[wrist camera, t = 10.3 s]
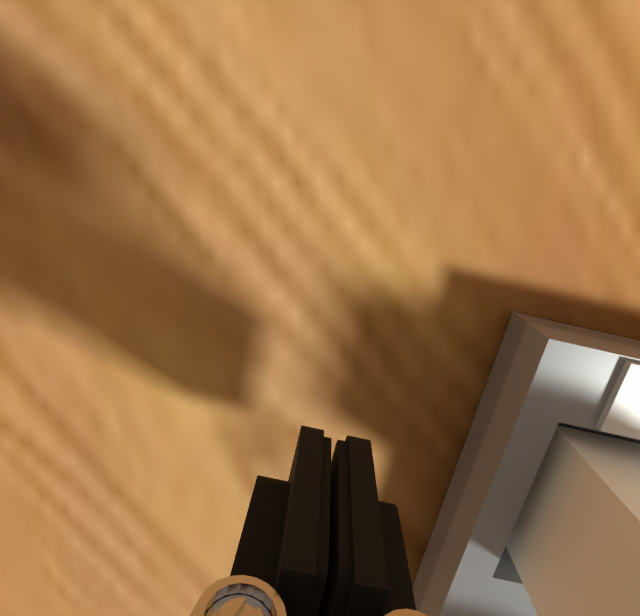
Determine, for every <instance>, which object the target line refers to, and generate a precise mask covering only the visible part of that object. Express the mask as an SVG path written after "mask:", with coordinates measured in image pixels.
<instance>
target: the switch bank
mask: <svg viewBox="0 0 640 616" xmlns="http://www.w3.org/2000/svg"><path fill="white" fill-rule="evenodd" d="M557 425H558V426H562V427H567V428H571V429H576V430H580V431H585V432H590V433H594V434H599V435H603V436H608V437H612V438H617V439H621V440H626V441H630V442H635V443H639V444H640V340H635V339H631V338H626V337H622V336H617V335H613V334H609V333H604V332H600V331H595V330H591V329H587V328H582V327H578V326H573V325H569V324H565V323H560V322H556V321H551V320H547V319H543V318H538V317H534V316H529V315H525V314H521V313H516V312H512V315H511V317H510V320H509V323H508V326H507V328H506V331H505V334H504V337H503V339H502V342H501V345H500V348H499V350H498V353H497V356H496V359H495V361H494V364H493V367H492V370H491V372H490V375H489V378H488V380H487V383H486V386H485V389H484V391H483V394H482V397H481V400H480V402H479V405H478V408H477V411H476V413H475V416H474V419H473V422H472V424H471V427H470V430H469V433H468V435H467V438H466V441H465V444H464V446H463V449H462V452H461V454H460V457H459V460H458V463H457V465H456V468H455V471H454V474H453V476H452V479H451V482H450V485H449V487H448V490H447V493H446V496H445V498H444V501H443V504H442V507H441V509H440V512H439V515H438V517H437V520H436V523H435V526H434V528H433V531H432V534H431V537H430V539H429V542H428V545H427V548H426V550H425V553H424V556H423V559H422V561H421V564H420V567H419V570H418V572H417V575H416V578H415V581H414V583H413V586H412V590H413V595H414V601H415V606H416V611H419V612H421V613H423V614H425V615H427V616H538V615H537V613H536V610H535V608H534V606H533V604H532V602H531V600H530V597H529V595H528V593H527V591H526V589H525V587H524V584H523V582H522V580H521V578H520V576H519V574H518V571H517V569H516V567H515V565H514V563H513V561H512V558H511V556H510V554H509V552H508V550H507V548H506V544H507V542H508V539H509V537H510V535H511V532H512V530H513V528H514V525H515V523H516V521H517V518H518V516H519V514H520V511H521V509H522V507H523V504H524V502H525V500H526V497H527V495H528V493H529V490H530V488H531V486H532V483H533V481H534V479H535V476H536V474H537V472H538V469H539V467H540V465H541V463H542V460H543V458H544V456H545V453H546V451H547V449H548V446H549V444H550V442H551V439H552V437H553V435H554V432H555V430H556V428H557Z"/></svg>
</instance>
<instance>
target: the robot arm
mask: <svg viewBox="0 0 640 616" xmlns="http://www.w3.org/2000/svg"><path fill="white" fill-rule="evenodd" d="M190 616H427V615H425V614H423V613H421V612H419V611H416V606H415V601H414V595H413V590H412V584H411V579H410V574H409V568H408V563H407V557H406V552H405V546H404V541H403V535H402V530H401V525H400V519H399V514H398V510H397V507H396V505H395V504H390V503H386V502H381V501H378V495H377V487H376V479H375V471H374V463H373V456H372V448H371V442H370V440H366V439H362V438H357V437H352V436H347V437H346V440H345V441H342V440H337V443H336V446H335V450H334V454H333V458H332V461H331V438H328V437H324V430H320V429H315V428H311V427H306V426H301V429H300V434H299V438H298V442H297V446H296V450H295V455H294V459H293V463H292V467H291V472H290V476H289V480H288V482H287V481H283V480H278V479H273V478H268V477H264V476H259V475H258V476H257V479H256V483H255V487H254V490H253V494H252V498H251V501H250V505H249V509H248V512H247V516H246V520H245V523H244V527H243V531H242V534H241V538H240V542H239V545H238V549H237V553H236V556H235V560H234V564H233V567H232V571H231V575H230V576H228V577H226V578H223V579H221V580H218V581H216V582H215V583H214V584H212V585H211V586H210V587H208V588H207V589H206V590H205V591H204V593H203V594H202V596H201V597H200V598H199V600H198V601H197V603H196V605H195V607H194V609H193V611H192V613H191V615H190Z"/></svg>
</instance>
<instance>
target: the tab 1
mask: <svg viewBox="0 0 640 616" xmlns="http://www.w3.org/2000/svg"><path fill="white" fill-rule="evenodd" d="M506 548H507V550H508V552H509V554H510V556H511V558H512V561H513V563H514V565H515V567H516V569H517V571H518V574H519V576H520V578H521V580H522V582H523V584H524V587H525V589H526V591H527V593H528V595H529V597H530V600H531V602H532V604H533V606H534V608H535V610H536V613H537V615H538V616H640V444H639V443H635V442H630V441H626V440H621V439H617V438H612V437H608V436H603V435H599V434H594V433H590V432H585V431H580V430H576V429H571V428H567V427H562V426H558V425H557V428H556V430H555V432H554V435H553V437H552V439H551V442H550V444H549V446H548V449H547V451H546V453H545V456H544V458H543V460H542V463H541V465H540V467H539V469H538V472H537V474H536V476H535V479H534V481H533V483H532V486H531V488H530V490H529V493H528V495H527V497H526V500H525V502H524V504H523V507H522V509H521V511H520V514H519V516H518V518H517V521H516V523H515V525H514V528H513V530H512V532H511V535H510V537H509V539H508V542H507V544H506Z"/></svg>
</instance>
